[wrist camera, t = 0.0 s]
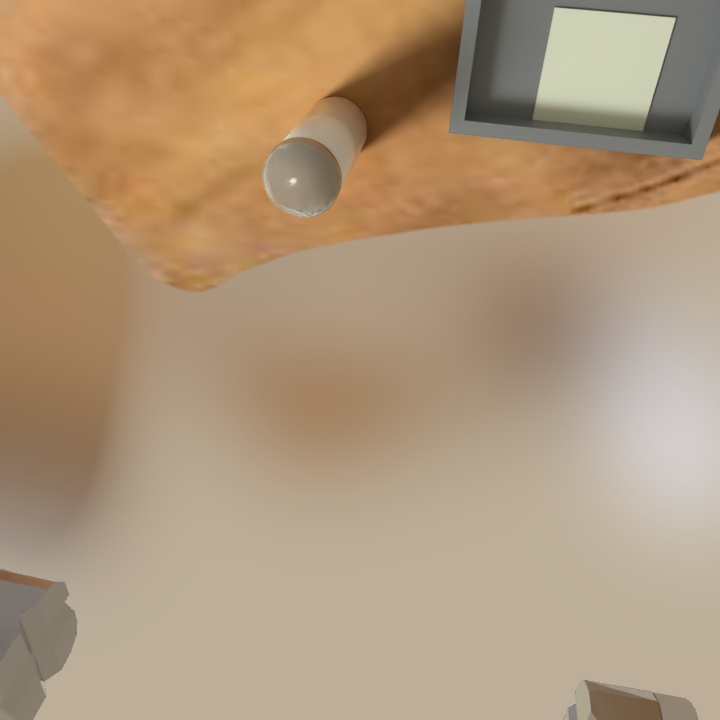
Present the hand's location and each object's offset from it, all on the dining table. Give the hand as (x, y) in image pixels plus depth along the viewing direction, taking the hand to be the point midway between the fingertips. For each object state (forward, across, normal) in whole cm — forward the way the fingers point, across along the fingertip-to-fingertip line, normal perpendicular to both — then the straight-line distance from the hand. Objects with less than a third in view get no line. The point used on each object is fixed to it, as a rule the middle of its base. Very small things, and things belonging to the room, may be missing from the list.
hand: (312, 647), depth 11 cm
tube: (+48, +9, +6) cm, 49 cm away
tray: (+48, -9, -2) cm, 49 cm away
